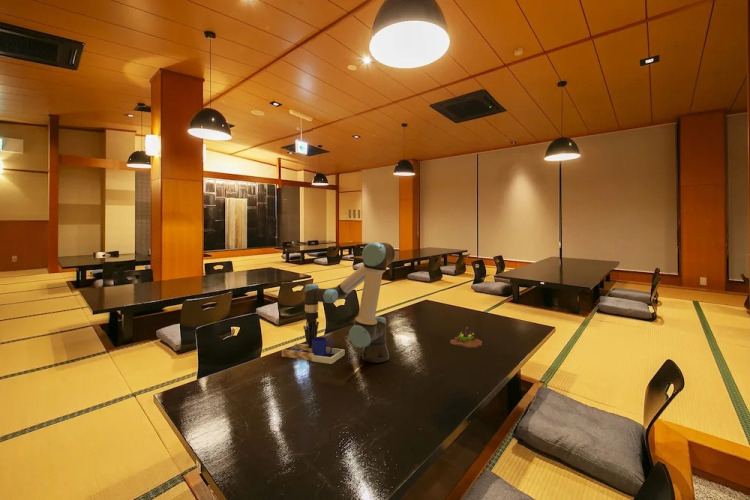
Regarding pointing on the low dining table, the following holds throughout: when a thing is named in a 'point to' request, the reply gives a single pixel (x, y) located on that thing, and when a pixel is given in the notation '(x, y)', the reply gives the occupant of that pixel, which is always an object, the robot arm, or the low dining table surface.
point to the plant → (466, 340)
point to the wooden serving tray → (298, 352)
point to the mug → (320, 346)
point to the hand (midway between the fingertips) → (311, 353)
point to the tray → (329, 360)
